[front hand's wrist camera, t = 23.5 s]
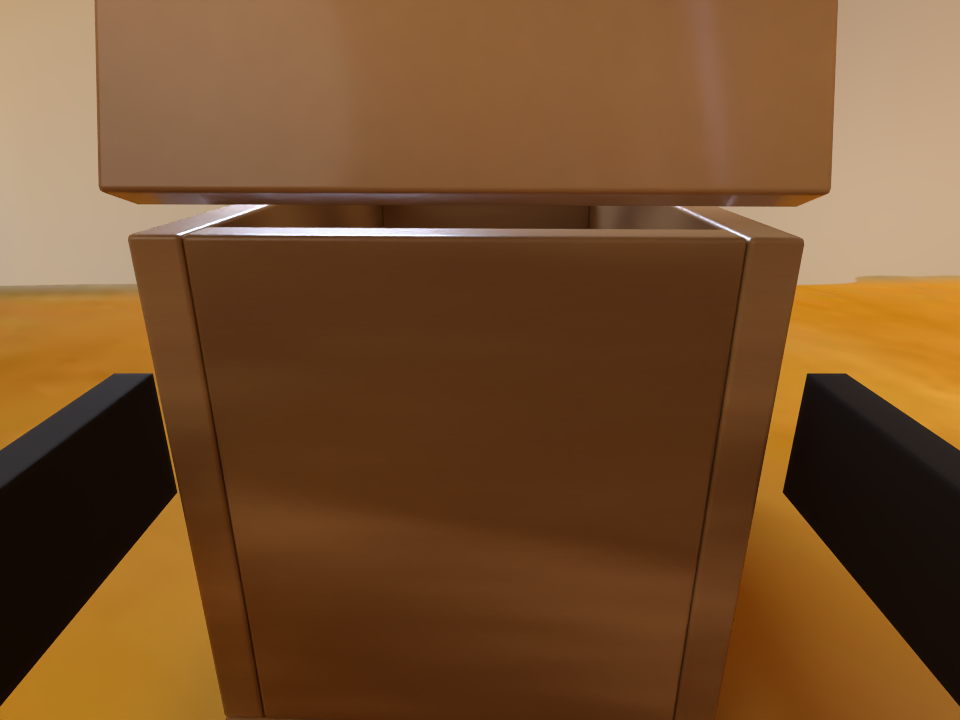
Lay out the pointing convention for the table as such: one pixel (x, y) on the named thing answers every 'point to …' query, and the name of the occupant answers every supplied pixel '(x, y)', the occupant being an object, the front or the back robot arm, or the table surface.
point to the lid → (466, 102)
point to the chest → (468, 450)
